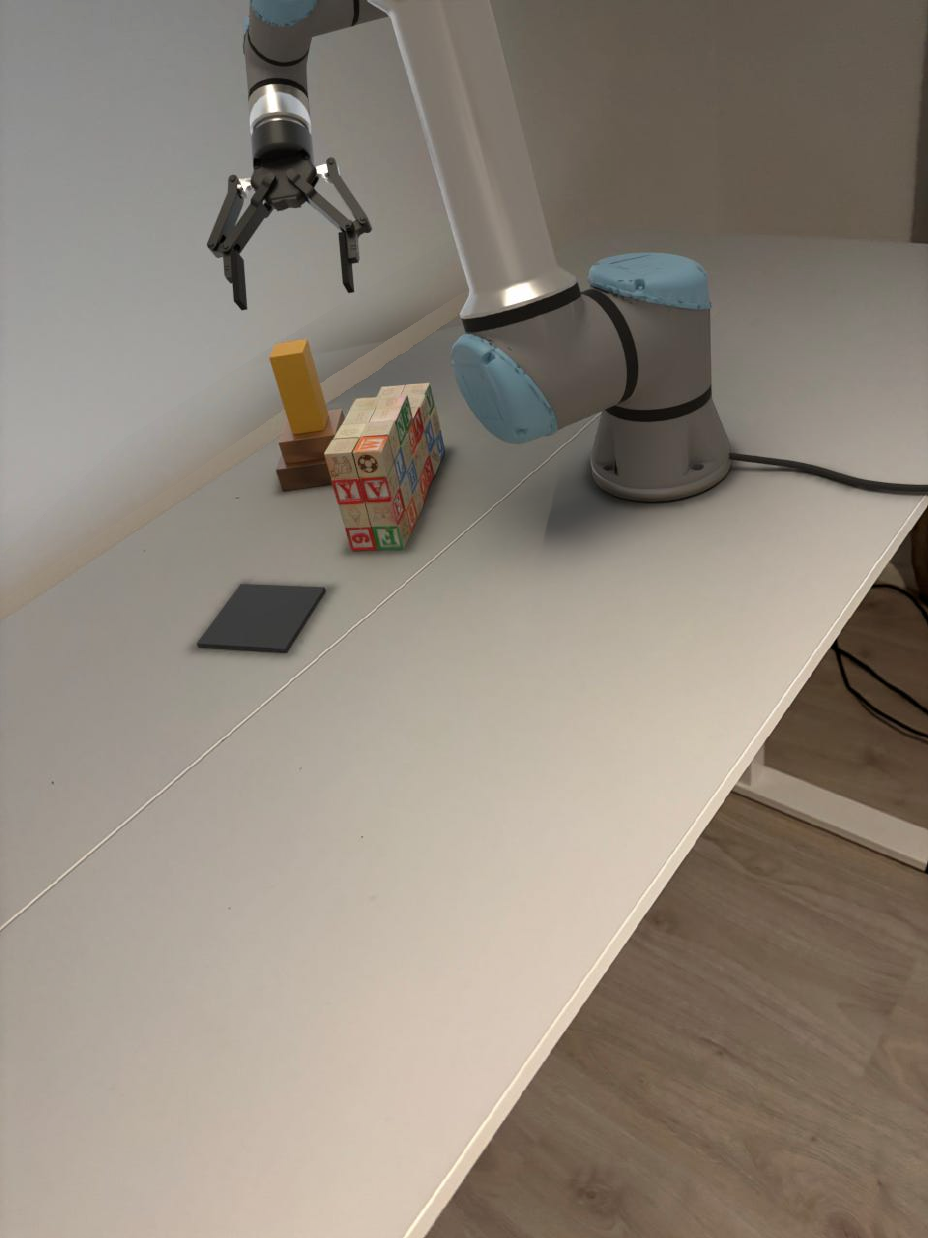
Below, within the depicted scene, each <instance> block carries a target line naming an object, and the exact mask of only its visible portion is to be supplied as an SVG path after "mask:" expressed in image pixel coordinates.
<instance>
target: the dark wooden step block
mask: <svg viewBox="0 0 928 1238" xmlns="http://www.w3.org/2000/svg"><path fill="white" fill-rule="evenodd" d="M327 411H328V419H327V422H326V426H325V429H324V430H322V431H315V432H308V433H301V434H294V435H293V434H292V432H291V428H290V425H289V422H288V419H286V421H285V424H284V427H283V429H282V432H281V435H280V437H279V440H278V446H279V450H280V452H281V454H280V456H279V460H278V462H277V465H276V468H275V471H276V475H277V478H278V481H279V484H280V488H281V491H282V492H285V491H292V490H300V489H307V488H314V487H321V486H328V485H332V481H331V479H332V478H331V476H330V473H329V470H328V466H327V463H326V459H325V456H324V453H325V451H326V449H327V448H328V446H329V444H330V443H331V441H332V440H333V439H334V437H335V435H336V433H337V431H338V430H339V428H340V426H341V425H342V424H343V422H344V420H345V418H346V417H345V414H344V410H343V408H335V409H329V410H327Z"/></svg>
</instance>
